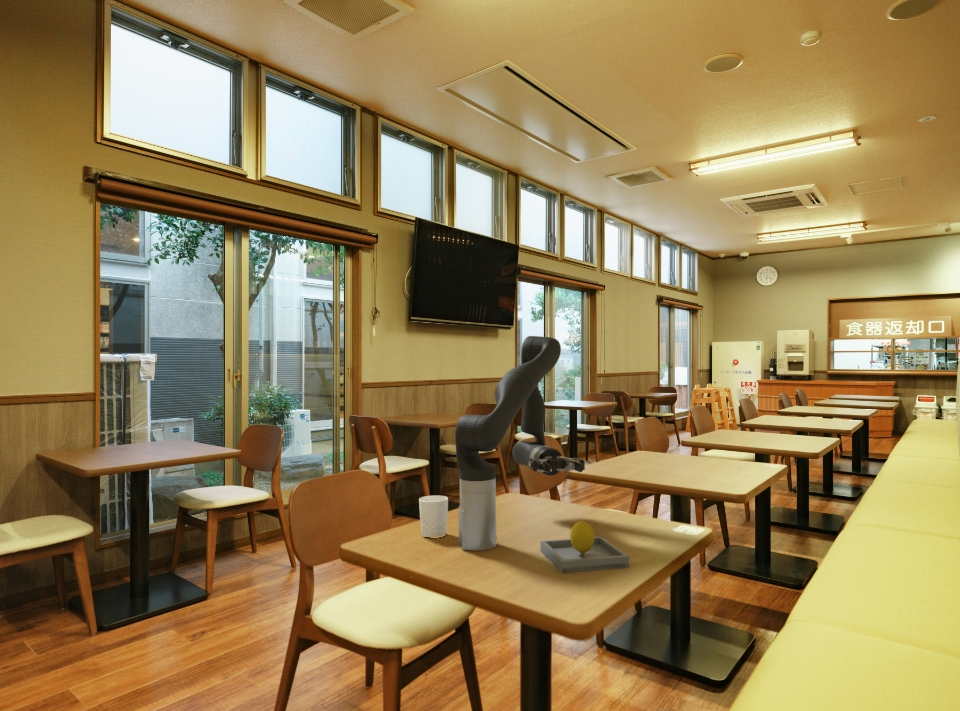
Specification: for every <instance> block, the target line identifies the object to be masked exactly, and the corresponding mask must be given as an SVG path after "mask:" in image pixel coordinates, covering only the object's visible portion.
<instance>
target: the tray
mask: <svg viewBox="0 0 960 711" xmlns="http://www.w3.org/2000/svg"><path fill="white" fill-rule="evenodd" d="M539 542H540V543H539V544H540V552H541V553H542V555H543V556H545V558H547V560H548V561H549V562H550V561H551V562H552V563H553V564H552V563H551V562H550V563H551V564H552V565H553V566H554V567H555V568H556V569H557V570H558V571H559V572H560V573H561V574H568V573H569V574H571V573H580V572H592V571H593V572H594V571H605V570H615V569H616V570H617V568H618V569H627V568H628V567H629V568H630V567H631V566H630V565H631V563H630V562H631V560H630V559H631V558H630V555H628V554H627V553H625V552H624V551H623V550H621V549H620V548H619V547H617V546H616V545H614V544H613V543H611V541H609V540H608V539H606V538H605V537H603V536H601V535H599V536H594V544H593V546H592V548H591V549H590V550H589V551H587V552H585V554H583V555H582V554H581V553H580V552H578V551H576V550H575V549H574V548H573V546H572V544H571V539H570V538H563V539H562V538H561V539H550V540H549V539H548V540H540V541H539Z"/></svg>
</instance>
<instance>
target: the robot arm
mask: <svg viewBox="0 0 960 711" xmlns="http://www.w3.org/2000/svg"><path fill="white" fill-rule="evenodd" d="M561 346H562V345H561V344H560V342H559V340H558V339H557V338H554V337H551V336H537V335H527V336H526V337H525V338H524V339H523V342H522V345H521V353H520V355H521V356H520V360H521V362H520V363H521V364H519V365H516V366H514V367H513V368H511V369H510V370H508V371H507V372H506V373H505V374H504V375H503V377H502V378H501V379H499V382H498V383H497V384H496V387H495V389H494V399H495V403H496V406H495V407H494V409H493V411H491V412H490V413H489V414H487V415H486V414H464V415H462V416H460V417H459V419H458V421H457V422H456V425H455V433H454V437H455V440H454V441H455V442H454V443H455V455H456V468H457V470H458V472H459V473H458V474H459V477H458V478H459V506H458V544H459V543H460V544H459V546H460V545H461V546H460V547H462V548H461V550H462V549H463V551H468V550H469V551H474V552H475V551H476V552H477V551H487V550H488V551H489V550H491V549H495V548H496V547H497V543H498V542H497V539H498V538H497V494H496V493H497V490H496V488H497V486H496V480H497V479H496V467H495V466H494V465H493V464H492V463H489V462H487V461H486V460H485V459H484V458H482V456H481V455H480V453H481V452H482V453H483V452H484V453H488V452H489V453H490V452H492V451H495V450H496V449H497V448H498V446H499V445H500V443H501V442H502V441H503V439H504V437H505V435H506V433H507V431H508V429H509V427H510V426H511V424H512V422H513V420H514V418H515V417H516V416H517V414H518V413H519V411H520V409H521V408H522V409H521V410H522V411H521V413H522V414H521V422H520V423H521V425H520V429H521V432H522V433H524V434H527V435H531V436H532V437H534V441H527V440H521V441H518V442H516V443H515V444H514V446H513V448H512V458H513V460H514V462H516V464H518V465H521V466H525V467H526V466H527V467H528V469H529V470H531V471H533V472H539V473H541V474H544V475H545V476H550V477H551V476H556V475H558V474H559V473H560V472H571V471H572V472H573V471H576V472H578V473H582V472H583V471H585V469H586V468H585V465H586V464H585V463H586V461H585V460H584V459H582V458H578V457H573V458H572V457H565V456H563V454H562V452H561V451H559V450H558V449H556V448H553V447H551V446H547V443H546V438H545V420H546V419H545V418H546V416H545V415H546V405H545V401H544V397H543V396H542V393H541V391H540V389H539V387H538V385H539V383H540V382H541V381H542V380H543V379H544V378H545V376H547V374H548V373H549V372H550V371H551V370H552V369H553V368H554V367H555V366H556V364H557V363H558V361H559V359H560V357H561V352H562V350H561V348H562V347H561Z"/></svg>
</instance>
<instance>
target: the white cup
mask: <svg viewBox="0 0 960 711" xmlns="http://www.w3.org/2000/svg"><path fill="white" fill-rule="evenodd" d="M418 505H419V506H418V508H419V522H420V530H421V536H422V535H423V536H427V537H438V536H443V535H445V534H446V533H447V530H448V528H447V526H448V513H449V512H448V511H449V498H448V496H445V495H433V494H432V495H426V496H422V497H421V496H420V497H419V498H418ZM447 534H448V533H447Z"/></svg>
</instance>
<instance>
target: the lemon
mask: <svg viewBox="0 0 960 711" xmlns="http://www.w3.org/2000/svg"><path fill="white" fill-rule="evenodd" d="M594 537H595V534H594V530H593V528H592V526H591V525H590V524H589V523H588V522H585V521H584V520H582V519H581V520H579V521H578V522H576V523H574V525H572V527H571V531H570V536H569V539H571V544H572V546H573V548H574V549H575V550H576V551H578V552H580V553H581V554H582V555H583V554H585V552H587V551H589V550H590V549H591V548H592V546H593V544H594Z"/></svg>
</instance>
